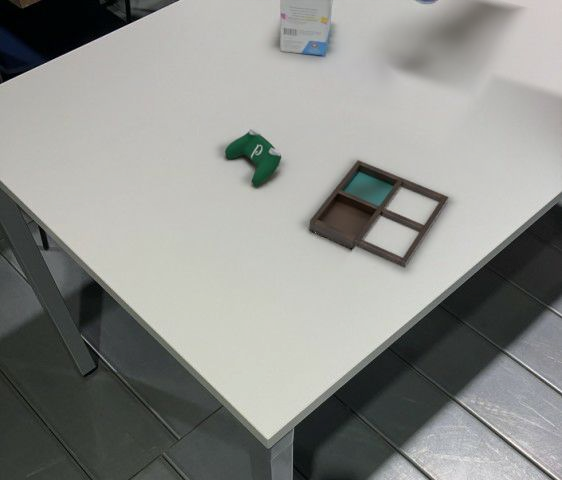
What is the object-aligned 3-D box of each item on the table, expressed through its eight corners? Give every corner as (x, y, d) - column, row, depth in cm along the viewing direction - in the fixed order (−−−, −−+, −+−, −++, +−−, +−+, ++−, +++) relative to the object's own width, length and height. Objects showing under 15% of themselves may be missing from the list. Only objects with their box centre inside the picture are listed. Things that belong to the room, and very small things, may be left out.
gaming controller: (267, 192, 98) (290, 160, 96) (253, 185, 95) (276, 152, 93) (235, 159, 102) (256, 128, 100) (220, 152, 99) (242, 119, 97)
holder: (445, 206, 95) (448, 196, 93) (403, 272, 88) (405, 263, 86) (356, 170, 99) (357, 159, 97) (308, 230, 92) (309, 220, 90)
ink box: (331, 31, 118) (338, -45, 107) (325, 57, 114) (331, -20, 103) (286, 26, 119) (288, -51, 108) (279, 51, 115) (280, -26, 103)
